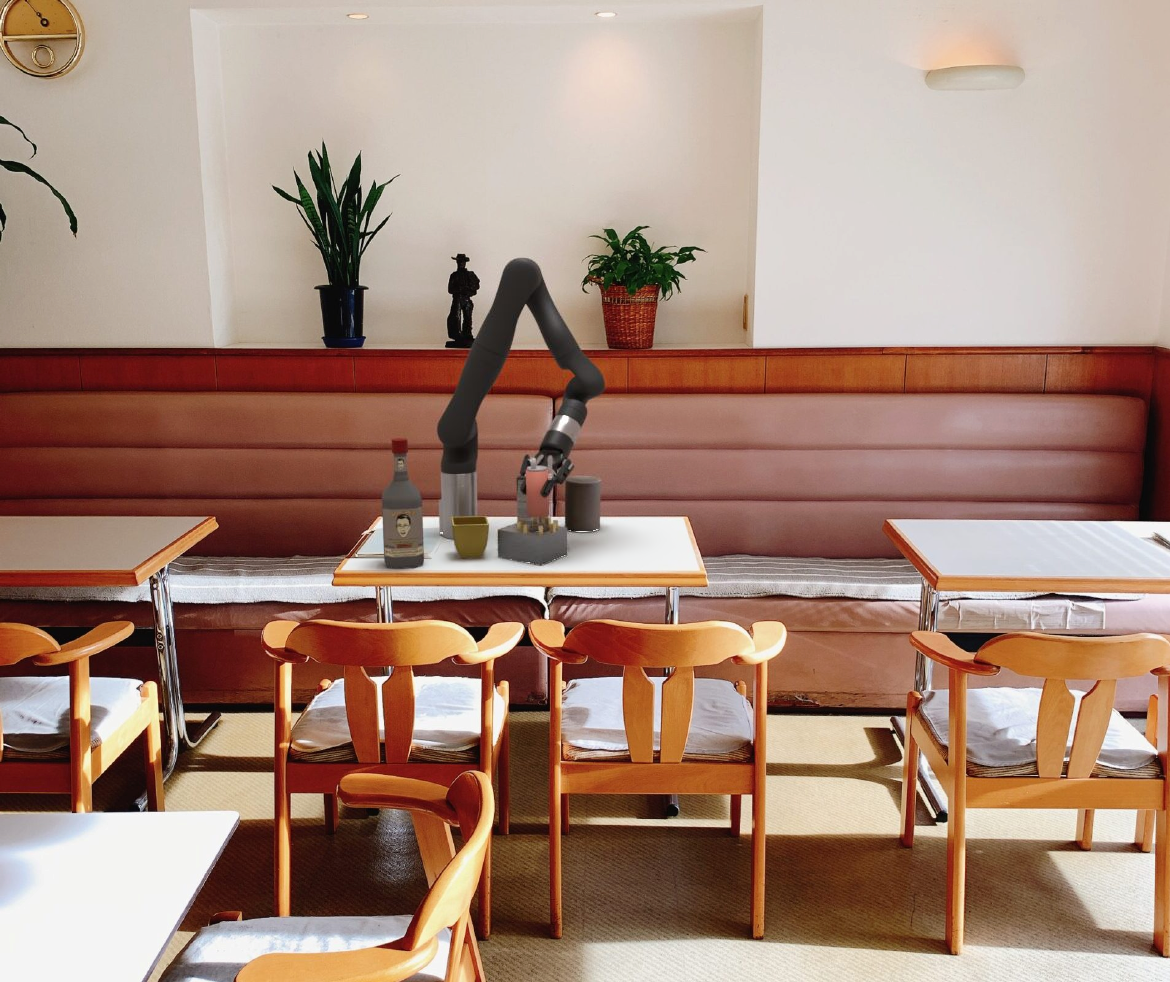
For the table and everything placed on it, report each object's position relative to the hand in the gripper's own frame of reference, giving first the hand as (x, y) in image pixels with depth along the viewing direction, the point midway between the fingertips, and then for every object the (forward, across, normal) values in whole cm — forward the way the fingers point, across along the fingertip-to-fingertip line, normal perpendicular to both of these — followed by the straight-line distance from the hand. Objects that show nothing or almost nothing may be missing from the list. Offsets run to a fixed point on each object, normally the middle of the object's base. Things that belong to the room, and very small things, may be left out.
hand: (533, 494), depth 250 cm
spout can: (+3, 0, +5) cm, 6 cm away
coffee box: (-2, -15, +25) cm, 29 cm away
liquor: (+26, -24, -3) cm, 35 cm away
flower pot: (+16, -15, +7) cm, 23 cm away
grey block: (+10, -3, +12) cm, 16 cm away
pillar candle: (-11, -7, +34) cm, 36 cm away
